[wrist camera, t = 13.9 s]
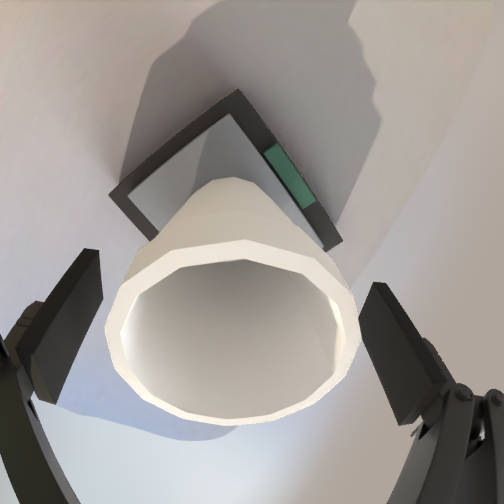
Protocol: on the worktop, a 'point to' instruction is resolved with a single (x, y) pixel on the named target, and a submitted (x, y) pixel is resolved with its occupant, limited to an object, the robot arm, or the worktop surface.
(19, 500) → the robot arm
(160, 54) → the worktop surface
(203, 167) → the scale
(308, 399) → the foam cup
